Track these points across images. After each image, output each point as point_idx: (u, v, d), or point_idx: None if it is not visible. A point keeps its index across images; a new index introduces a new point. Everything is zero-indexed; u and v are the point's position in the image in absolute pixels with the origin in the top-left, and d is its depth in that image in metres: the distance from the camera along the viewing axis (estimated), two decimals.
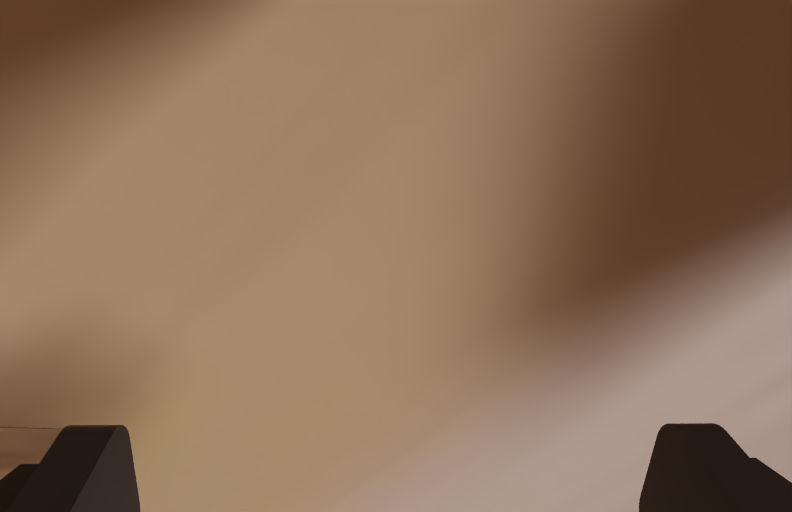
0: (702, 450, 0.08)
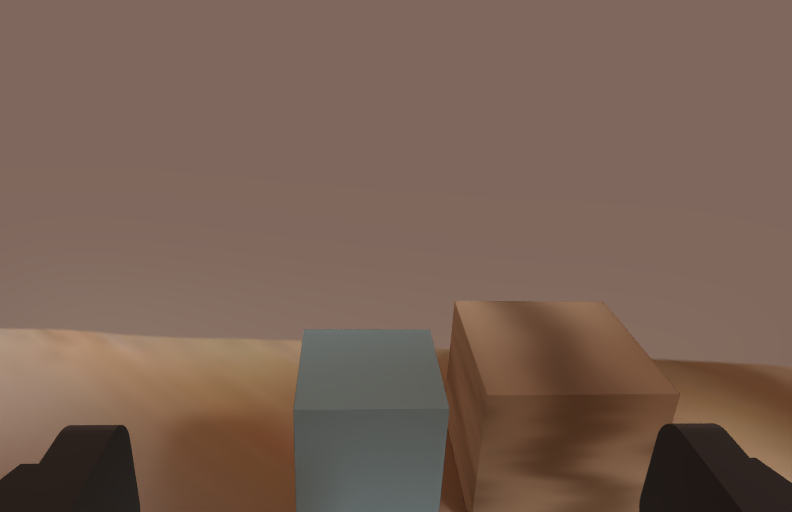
0: (702, 450, 0.08)
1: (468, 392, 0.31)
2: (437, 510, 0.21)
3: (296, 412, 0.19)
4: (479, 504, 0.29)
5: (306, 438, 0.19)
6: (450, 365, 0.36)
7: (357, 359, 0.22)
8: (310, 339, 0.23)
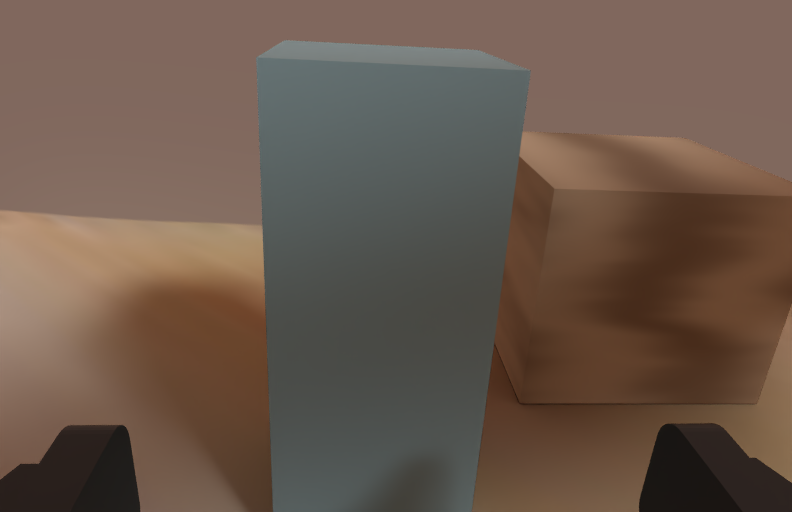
0: (702, 450, 0.08)
1: (516, 223, 0.22)
2: (499, 285, 0.13)
3: (261, 62, 0.11)
4: (534, 367, 0.21)
5: (280, 121, 0.11)
6: None
7: (368, 50, 0.13)
8: (294, 42, 0.15)
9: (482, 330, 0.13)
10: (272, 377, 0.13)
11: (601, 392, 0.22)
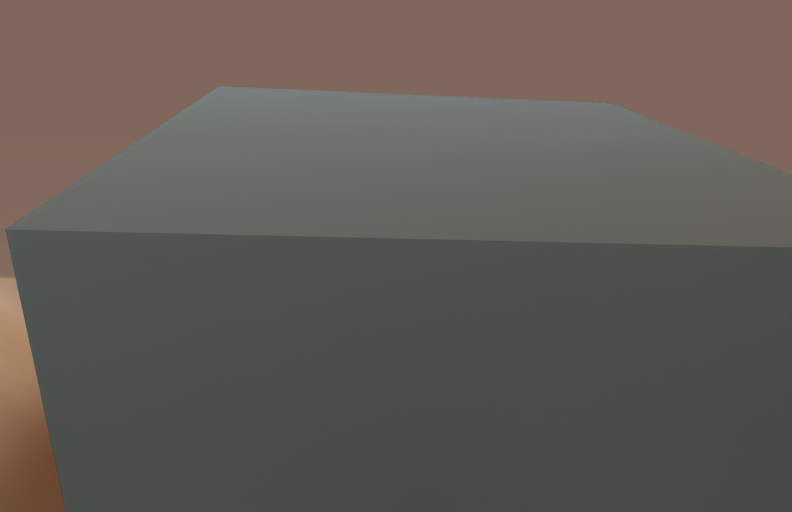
0: None
1: None
2: None
3: (29, 248, 0.03)
4: None
5: (124, 425, 0.03)
6: None
7: (401, 126, 0.06)
8: (234, 95, 0.07)
9: None
10: None
11: None
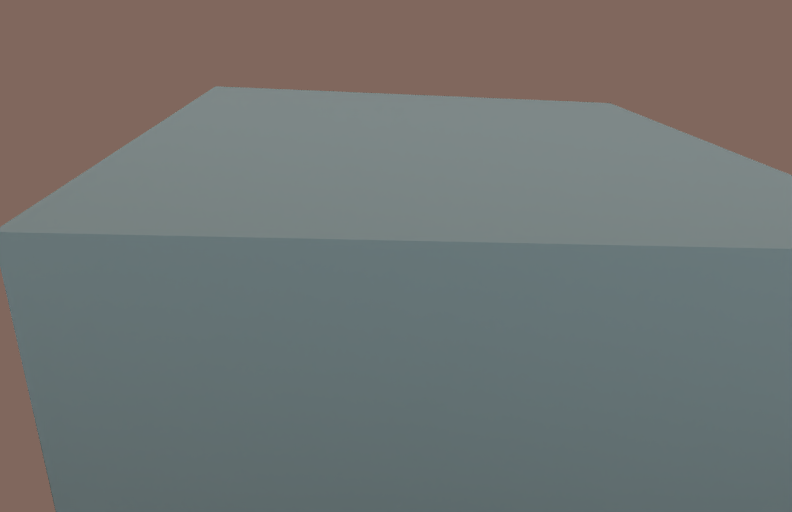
0: None
1: None
2: None
3: (17, 251, 0.03)
4: None
5: (116, 429, 0.03)
6: None
7: (397, 128, 0.06)
8: (230, 96, 0.07)
9: None
10: None
11: None
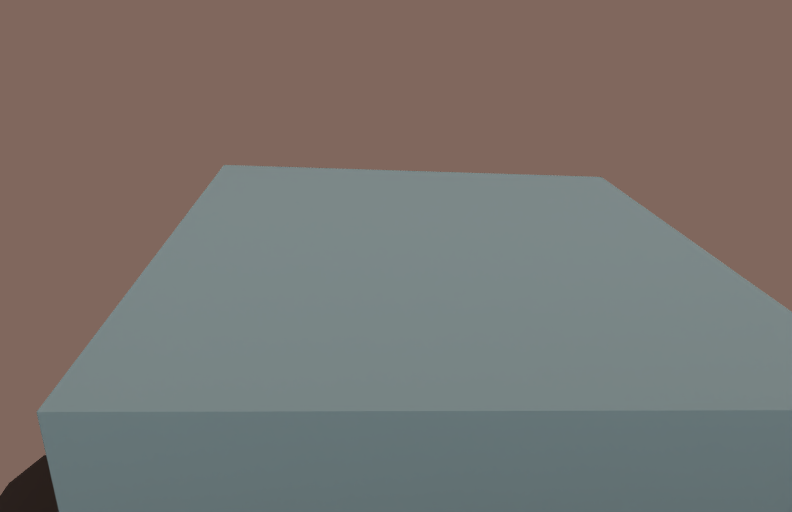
0: None
1: None
2: None
3: (57, 427, 0.03)
4: None
5: None
6: None
7: (397, 228, 0.06)
8: (238, 181, 0.07)
9: None
10: None
11: None
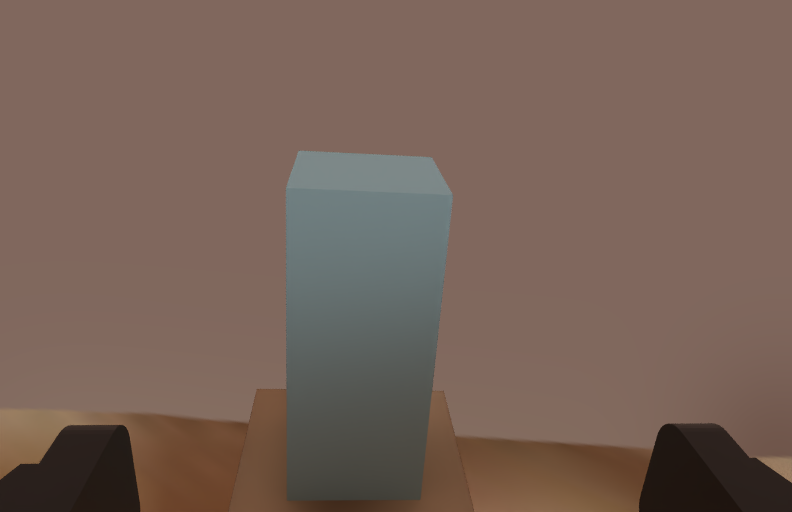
0: (702, 450, 0.08)
1: None
2: (437, 323, 0.20)
3: (289, 191, 0.18)
4: None
5: (299, 224, 0.18)
6: None
7: (355, 167, 0.20)
8: (305, 155, 0.22)
9: (427, 352, 0.20)
10: (289, 381, 0.20)
11: None
